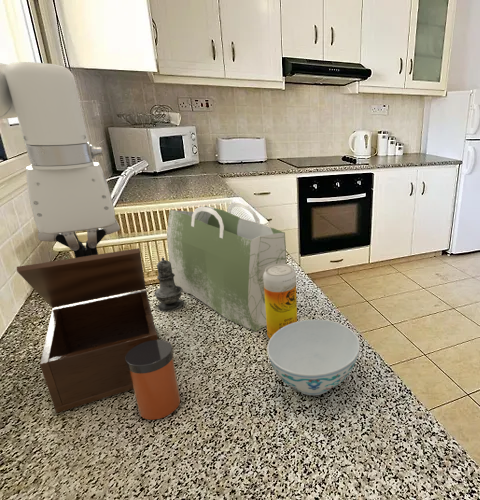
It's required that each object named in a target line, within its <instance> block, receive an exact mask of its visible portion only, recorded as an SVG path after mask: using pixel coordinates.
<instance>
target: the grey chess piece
mask: <svg viewBox="0 0 480 500" xmlns="http://www.w3.org/2000/svg"><path fill="white" fill-rule="evenodd" d="M156 268H157V274H158V275H157V276H156V279H157V280H158V281H159V282H158V283H159V288H158V289H156V290H155V291H154V293H153V294H154V295H153V296H154V297H156V299H157V301H158V302H159V304H158V306H157V308H158V310H159V311H162V312H168V311H174V310H177V309H179V308H181V307H182V306H183V305H184V301H183V300H182V299H180V298H181V296H182V292H183V291H182V290H183V289H182V288H181V287H180V286H176V285H175V283H174V276H175V274H174V273H172V267H171V263H170V262H169V260H167V259H166V260H165V258H164V257H161V260H160V261H159V262H157V264H156Z"/></svg>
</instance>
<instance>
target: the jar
mask: <svg viewBox="0 0 480 500" xmlns="http://www.w3.org/2000/svg"><path fill="white" fill-rule="evenodd" d="M125 360H126V364H127V368H128V370H129V372H130V376H131V380H132V384H133V389H132V390H133V392H134V397H135V401H136V405H137V410H138V412H139V416H140V417H141V418H143V419H144V420H149V421H153V420H154V421H155V420H160V419H163V418H165V417H167V416H169V415H172V413H173V412H175V411H176V410H177V409H178V408H179V406H180V404H181V394H180V390H179V384H178V378H177V372H176V367H175V361H174V350H173V346H172V344H171V342H169V341H167V340H164V339H158V340H152V341H147V342H144V343H141V344H139V345H137V346H135V347H133V348H132V349H131V350H130V351H129V352H128V353H127V354H126V357H125Z"/></svg>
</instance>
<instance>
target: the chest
mask: <svg viewBox="0 0 480 500" xmlns="http://www.w3.org/2000/svg"><path fill="white" fill-rule="evenodd" d="M51 308H52V307H51ZM49 317H50V318H49V322H48V326H47V331H46V335H45V338H44V339H45V340H44V344H43V349H42V353H41V358H40V362H39V366H40V369H41V372H42V375H43V378H44V381H45V383H46V387H47V390H48V393H49V396H50V399H51V401H52V404H53V407H54V411H55V414H58V413H62V412H66V411H68V410H71V409H75V408H77V407H80V406H84V405H87V404H91V403H93V402H97V401H100V400H103V399H106V398H109V397H112V396H116V395H118V394H122V393H125V392H128V391H132V390H134V389H133V384H132V380H131V376H130V372H129V370H128V368H127V364H126V360H125V357H126V354H127V353H128V352H129V351H130V350H131V349H132V348H133V347H135V346H137V345H139V344H141V343H144V342H147V341H152V340H159V338H158V334H157V329H156V325H155V321H154V316H153V313H152V308H151V304H150V301H149V296H148V292H147V288H146V289H143V290H138V291H133V292H128V293H123V294H118V295H113V296H108V297H103V298H98V299H93V300H88V301H83V302H78V303H73V304H68V305H64V306H59V307H54V308H52V309H51V313H50V316H49Z"/></svg>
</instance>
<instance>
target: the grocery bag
mask: <svg viewBox="0 0 480 500" xmlns="http://www.w3.org/2000/svg"><path fill="white" fill-rule="evenodd" d="M235 207H239V208H243V209H245V210H246V211H248V213H250V214H251V215H252V217H253V219H254V221H252V220H249V219H245V218H242V217H239V216H237V215H235V214H233V213H232V209H233V208H235ZM260 220H261V219H260V217H259V216H258V214H257V213H256V211H255V210H254V209H253V208H252V207H251V206H249V205H247V204H245V203H242V202H237V201H233V202H231V203H230V204H229V205H228V206H227V211H226V210H223V209H220V208H217V207H213V206H208V205H204V206H201V205H200V206H198V207H196V208H194V210H193V211H187V210H186V211H185V210H175V209H169V211H168V219H167V229H166V240H167V241H166V242H167V251H168V252H167V254H168V261H169V262H170V263H171V267H172V273H174V274H175V276H174V283H175V285H176V286H180V287H181V288H182V289H183V290H182V292H184V293H187V294H189V295H192V296H193V297H195V298H196V299H197V300H199V301H201V302H202V303H203V304H205V305H206V306H208V307H209V308H211V309H212V310H213V311H215V312H216V313H218V314H219V315H221V316H223V317H224V318H225V319H226V320H229V321H231V322H233V323H235V324H238V325H240V326H242V327H244V328H246V329H249V330H251V331H254V332H258V331H259V330H261V329H263V328H264V327H267V323H266V308H265V293H264V279H263V275H264V272H265V269H266V268H267V267H268V266H270V265H273V264H287V245H286V244H287V243H286V242H287V241H286V232H285V231H282V230H279V229H276V228H274V227H272V226H268V225H266V224H264V223H261V221H260Z"/></svg>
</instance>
